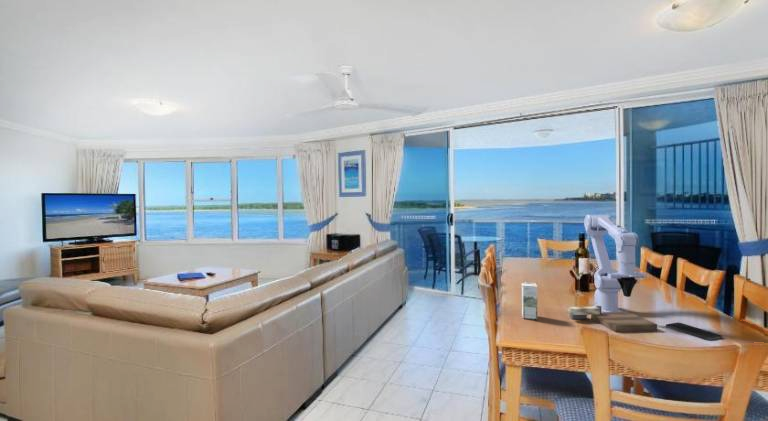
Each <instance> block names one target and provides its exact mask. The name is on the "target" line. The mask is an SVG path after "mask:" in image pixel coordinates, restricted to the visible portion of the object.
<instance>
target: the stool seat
mask: <svg viewBox="0 0 768 421" xmlns="http://www.w3.org/2000/svg"><path fill="white" fill-rule="evenodd" d="M590 318H591V320H593V321H595V322H596V323H598V324H600V325H602V326H603V327H605V328H607V329H609V330H610V331H613V332H614V333H628V332H629V333H632V332H634V333H635V332H657V331H658V324H657V323H655V322H653V321H650V320H648V319H646V318H645V317H642V316H639V315H638V314H636V313H633V312H630V311H623V312H603V311H601V314H598V315H590Z"/></svg>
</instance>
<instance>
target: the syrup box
mask: <svg viewBox="0 0 768 421" xmlns="http://www.w3.org/2000/svg"><path fill="white" fill-rule="evenodd" d="M538 297H539V296H538V285H537V283H536V282H521V316H522V319H523V318H525V320H535V319H536V321H537V320H538Z"/></svg>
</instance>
